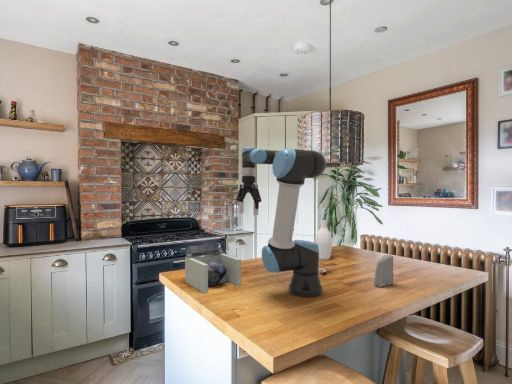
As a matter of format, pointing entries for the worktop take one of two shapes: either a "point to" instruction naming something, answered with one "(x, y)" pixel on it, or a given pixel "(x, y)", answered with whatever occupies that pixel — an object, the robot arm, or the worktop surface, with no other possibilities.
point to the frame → (199, 271)
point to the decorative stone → (384, 271)
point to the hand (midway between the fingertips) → (248, 214)
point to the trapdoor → (207, 256)
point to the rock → (216, 272)
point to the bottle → (324, 241)
